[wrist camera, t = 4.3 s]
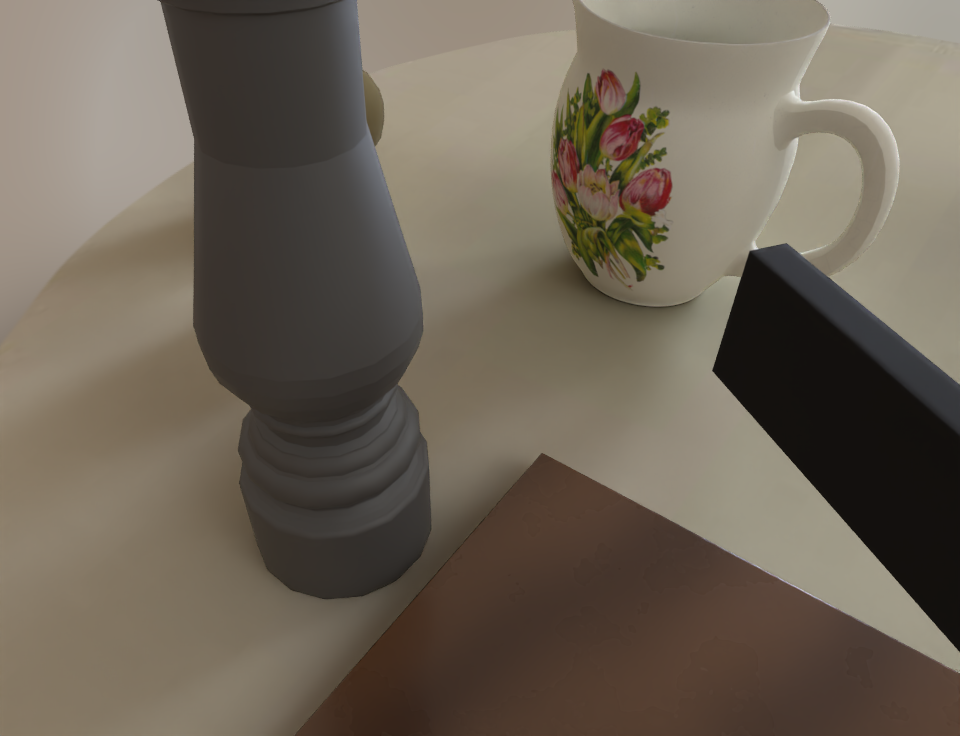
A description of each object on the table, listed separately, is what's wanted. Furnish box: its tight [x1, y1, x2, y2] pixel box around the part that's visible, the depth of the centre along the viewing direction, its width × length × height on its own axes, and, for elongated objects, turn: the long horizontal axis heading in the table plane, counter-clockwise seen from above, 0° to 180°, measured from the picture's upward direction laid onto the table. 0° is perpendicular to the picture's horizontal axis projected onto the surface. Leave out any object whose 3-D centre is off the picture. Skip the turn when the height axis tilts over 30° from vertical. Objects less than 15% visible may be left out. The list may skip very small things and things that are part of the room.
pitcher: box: [551, 0, 900, 307], centre depth 34 cm, size 11×18×14 cm, turn 46°
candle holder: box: [159, 0, 431, 599], centre depth 18 cm, size 6×6×25 cm
